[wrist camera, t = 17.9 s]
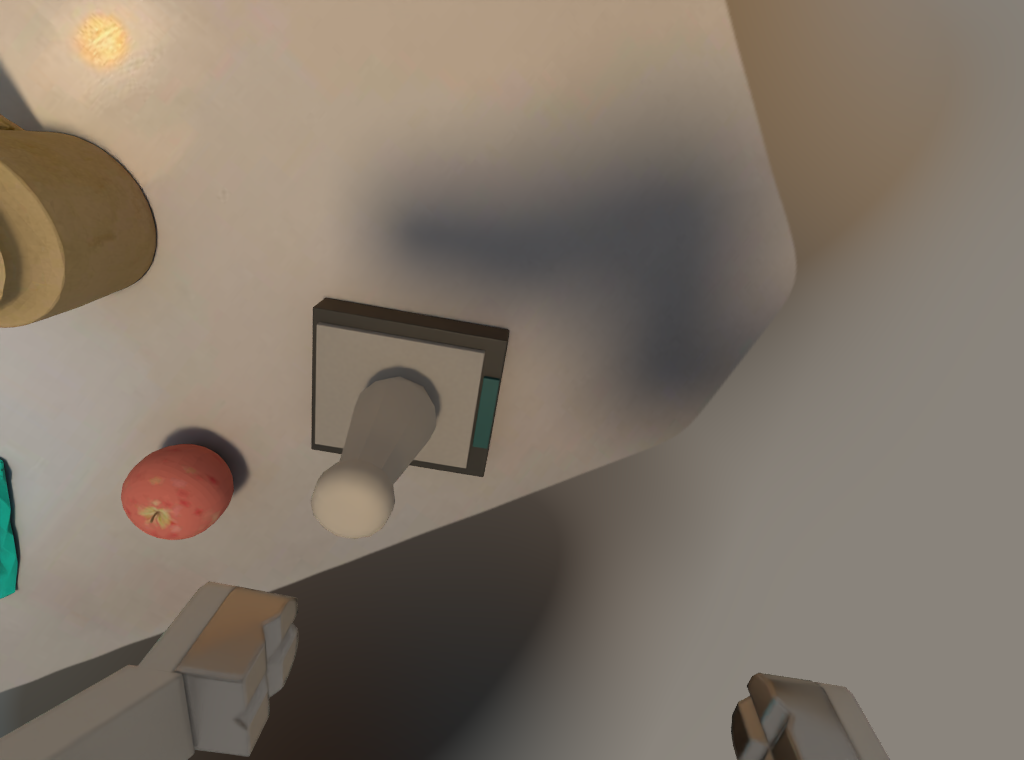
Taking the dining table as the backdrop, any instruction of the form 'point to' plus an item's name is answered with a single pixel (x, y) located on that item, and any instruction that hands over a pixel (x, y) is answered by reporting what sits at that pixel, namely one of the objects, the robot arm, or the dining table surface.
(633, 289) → the dining table surface
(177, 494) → the apple
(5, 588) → the cloth
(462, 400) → the scale
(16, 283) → the sugar bowl
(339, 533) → the salt shaker
